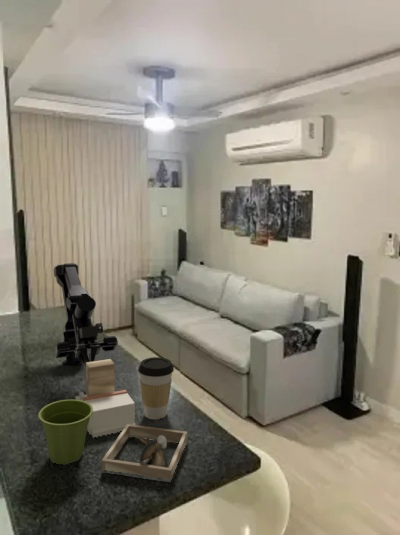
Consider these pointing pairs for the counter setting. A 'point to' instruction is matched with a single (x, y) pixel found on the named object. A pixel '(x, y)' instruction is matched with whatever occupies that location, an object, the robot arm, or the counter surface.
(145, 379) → the coffee cup
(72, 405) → the plant pot
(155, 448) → the eagle figurine
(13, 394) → the counter surface
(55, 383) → the counter surface
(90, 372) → the light wood block
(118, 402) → the housing
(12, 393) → the counter surface
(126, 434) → the frame
